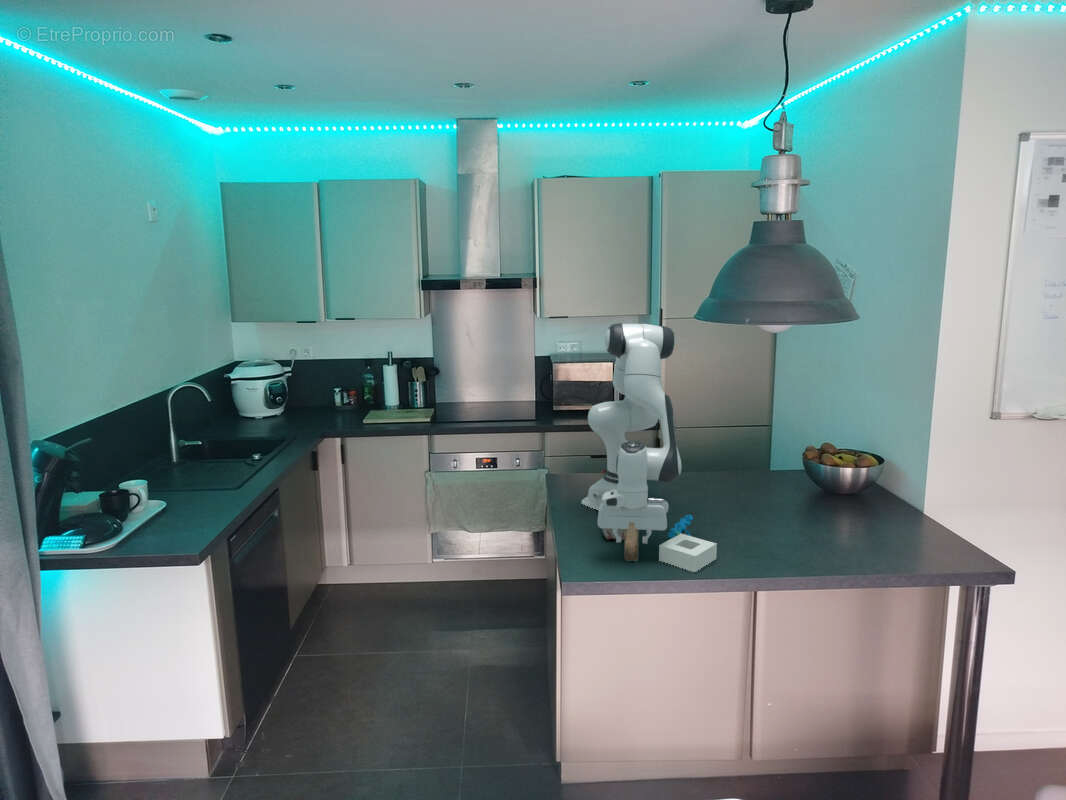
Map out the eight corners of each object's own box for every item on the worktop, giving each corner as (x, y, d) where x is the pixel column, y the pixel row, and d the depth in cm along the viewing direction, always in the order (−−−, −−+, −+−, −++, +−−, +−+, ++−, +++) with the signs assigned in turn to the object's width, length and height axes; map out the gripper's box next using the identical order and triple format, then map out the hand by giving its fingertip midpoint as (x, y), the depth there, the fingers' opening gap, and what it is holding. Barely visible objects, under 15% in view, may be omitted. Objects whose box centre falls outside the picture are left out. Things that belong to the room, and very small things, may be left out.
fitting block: (658, 561, 210) (659, 545, 209) (680, 548, 218) (681, 533, 217) (694, 572, 202) (695, 556, 201) (716, 559, 210) (716, 543, 209)
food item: (628, 542, 225) (629, 512, 223) (603, 542, 224) (603, 512, 223) (622, 526, 238) (622, 497, 236) (598, 526, 238) (598, 498, 236)
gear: (669, 525, 233) (691, 508, 229) (681, 538, 233) (704, 521, 229) (664, 542, 223) (687, 524, 219) (677, 555, 223) (701, 538, 219)
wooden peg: (621, 559, 212) (622, 520, 209) (629, 555, 214) (630, 517, 212) (632, 562, 209) (633, 524, 207) (640, 558, 212) (641, 520, 209)
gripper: (668, 495, 210) (667, 539, 212) (598, 493, 213) (598, 537, 215) (669, 502, 203) (668, 548, 206) (597, 500, 206) (597, 545, 209)
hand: (631, 542), depth 211 cm, fingers open, 6 cm apart
